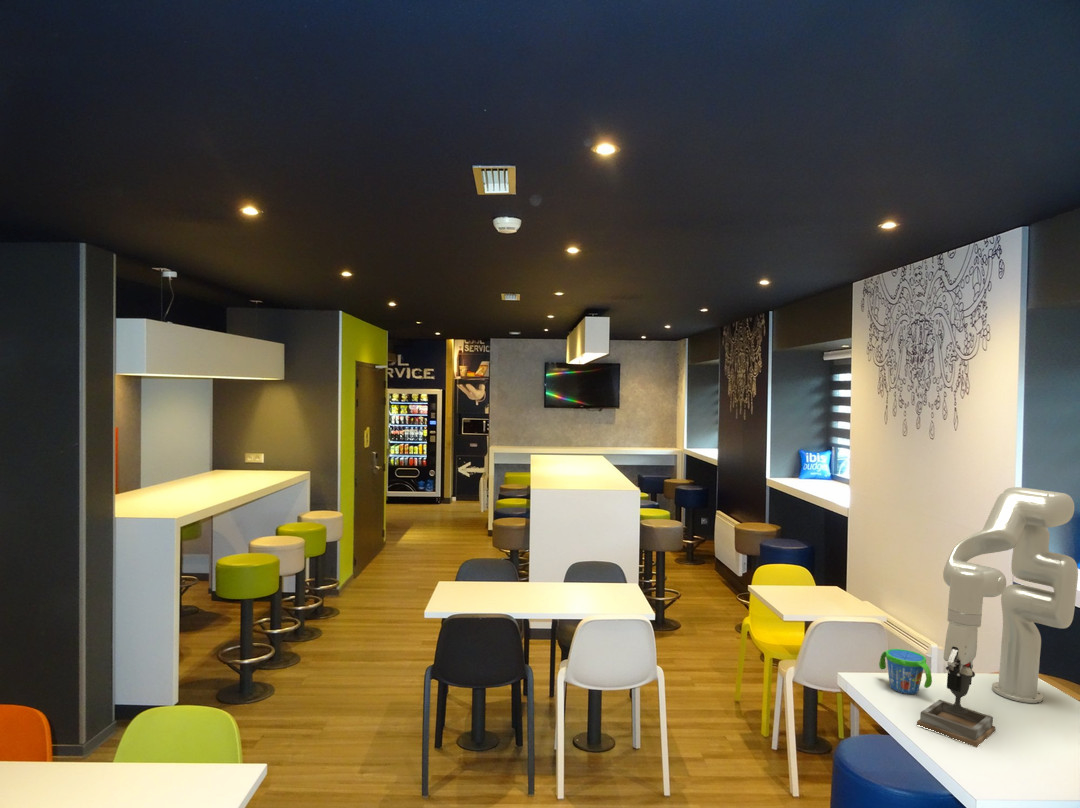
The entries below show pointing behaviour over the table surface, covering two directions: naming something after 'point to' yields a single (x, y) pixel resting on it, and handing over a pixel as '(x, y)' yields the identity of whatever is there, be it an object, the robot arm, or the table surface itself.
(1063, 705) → the table surface
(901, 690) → the snack cup
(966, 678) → the sundae
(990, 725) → the stand
